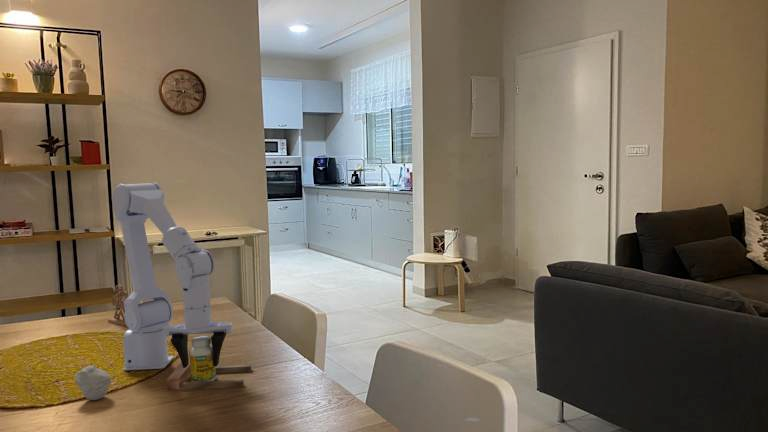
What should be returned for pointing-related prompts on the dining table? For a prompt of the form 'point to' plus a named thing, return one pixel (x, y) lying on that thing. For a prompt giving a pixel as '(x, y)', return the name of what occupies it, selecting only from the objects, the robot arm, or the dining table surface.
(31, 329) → the dining table surface
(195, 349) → the supplement bottle
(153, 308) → the robot arm
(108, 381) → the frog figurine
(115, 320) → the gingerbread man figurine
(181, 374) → the guide channel
